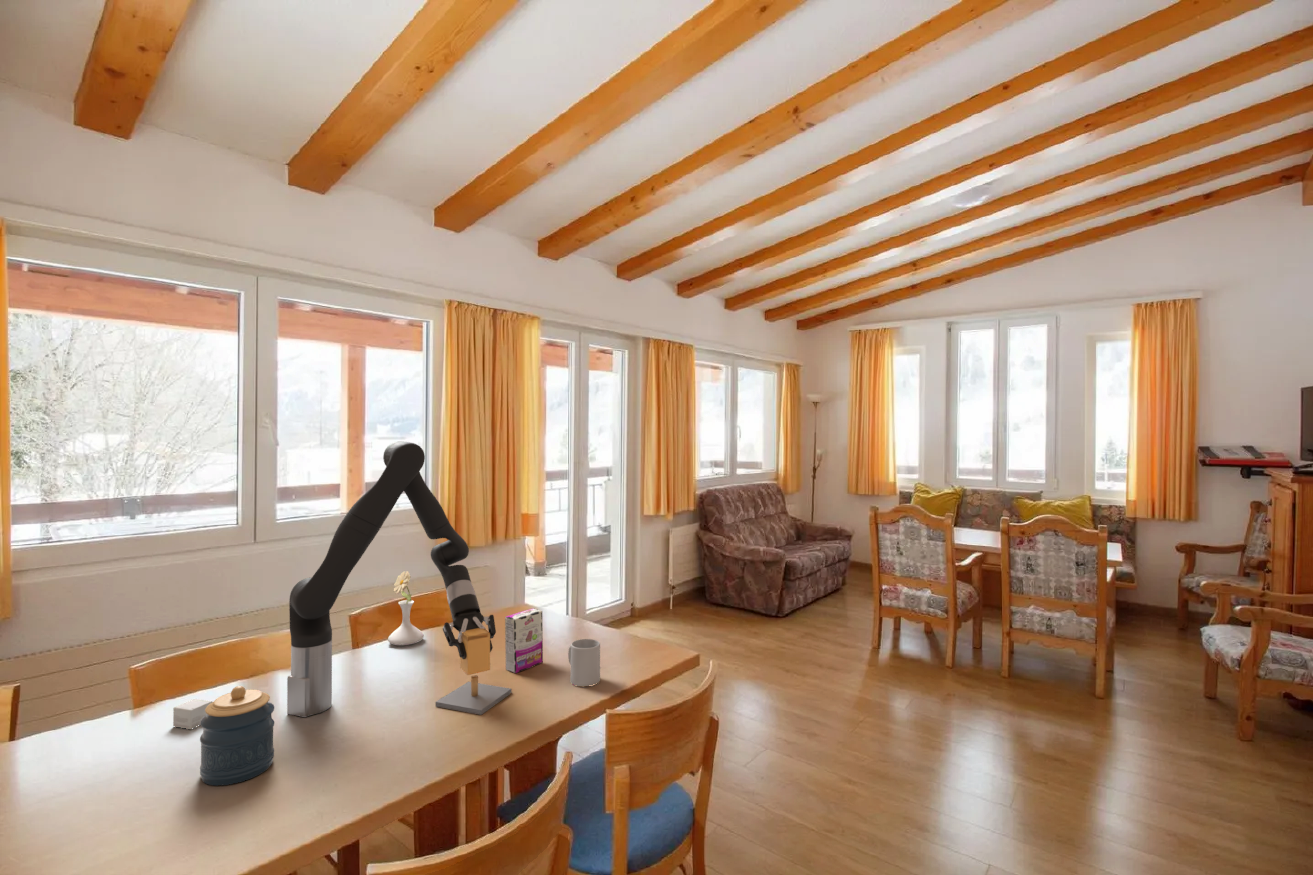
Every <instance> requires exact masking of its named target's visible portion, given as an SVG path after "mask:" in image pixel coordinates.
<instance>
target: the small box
mask: <svg viewBox="0 0 1313 875" xmlns="http://www.w3.org/2000/svg"><path fill="white" fill-rule="evenodd" d="M212 702H213V701H212V700H206V699H205V700H204V699H199V698H194V699H191V700H188V701H185V702H184V703H181V704H179V705H176V706H174V707H173V710H172V711H173V715H172V716H173V722H172V724H173V725H172V727H173V726H175V727H174V728H176V727H181V728H180V729H182V728H186V729H185V730H188V729H192V728H194V727H196V726H198V725H200V721H201V719H202V718H203V717H204V716H205V715H206V712H205V709H206V707H207V706H208V705H209V704H210V703H212ZM196 728H197V727H196ZM194 729H195V728H194ZM192 730H193V729H192Z"/></svg>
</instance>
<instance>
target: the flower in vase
mask: <svg viewBox="0 0 1313 875" xmlns="http://www.w3.org/2000/svg"><path fill="white" fill-rule="evenodd" d="M410 580H411V574H410V572H409V571H408V570H406V571H405V570H404V571H403V572H401V573H400V575H399V574H398V576H397V578H396V581H395V583H394V584H393V586H394V588H393V592H394V593H395V595H396V594H398V595H399V594H401V595H402V597H403V598H404V599H405V600H401V601H398V605H399V606H400V609H401V613H402V622H401V624H400V626H399V627H397V628H396V629H394V631H393V632H392V633H390V634H389V636H388V638H387V642H388V643H389V644H391V645H396V646H408V645H412V644H413V645H414V644H416V643H419V642H420V641H422V640H423V639H424V638H425V635H424V633H423V631H422V630H420V629H419V628H418V627H416V626H415V625H414V624H412V623H411V620H410V619H411V616H410V615H411V609H412V606H413V604H414V603H415V601H414V600H413V599H412V593H410V589H409V587H408V585H410ZM405 589H407V592H405ZM407 593H408V594H407Z"/></svg>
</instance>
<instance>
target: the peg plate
mask: <svg viewBox="0 0 1313 875" xmlns="http://www.w3.org/2000/svg"><path fill="white" fill-rule="evenodd" d="M512 692H513V691H512V688H509V687H505V686H504V687H503V686H498V685H492V684H491V685H490V684H487V683H486V684H485V683H481V682H479V675H477V674H472V675H471V676H470V681H467V682H465V683H464V684H462V685H461V686H459V687H457V688H456V689H454V690H452V691H451V692H449V693H447V694H446V695H445V696H443V697H441V698H439V699H437V700H436V701H435V707H436V708H442V709H447V710H453V711H459V712H464V713H469V714H475V715H479V716H480V715H481V716H482V715H483V714H485V713H486V712H488V711H489V710H491V708H493V707H494V706H495V704H496V705H497V704H498V703H500V702H501V701H502V700H504V699H506V697H508V696H510V693H511V694H512Z"/></svg>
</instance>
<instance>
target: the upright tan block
mask: <svg viewBox="0 0 1313 875" xmlns="http://www.w3.org/2000/svg"><path fill="white" fill-rule="evenodd" d="M462 637H463V643H464V646H465V649H466V653H467V657H466V659H462V658H461V657H460V656H459V659H460V660H459V662H460V663H459V664H460V665H459V668H460V669H461V671H463V672H464V673H465V674H466V676H470V675H471V676H472V675H476V674H479V673H484V672H487V671H491V652H490V632H489V630H487V628H486V629H484V628H482V629H480V628H476V629H471V630H466V631H465V632H462Z"/></svg>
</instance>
